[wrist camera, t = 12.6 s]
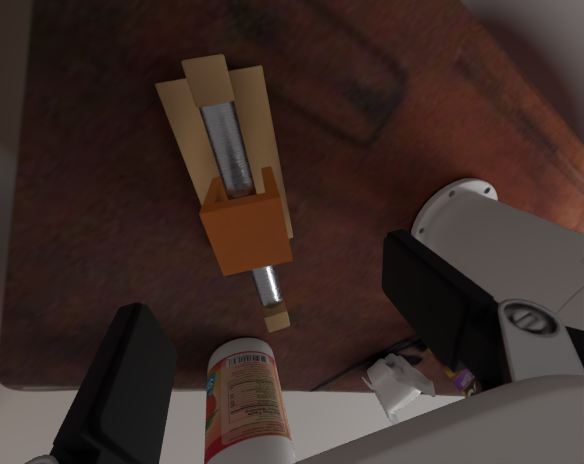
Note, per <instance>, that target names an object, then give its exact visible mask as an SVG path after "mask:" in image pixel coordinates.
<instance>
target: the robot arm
mask: <svg viewBox="0 0 584 464" xmlns="http://www.w3.org/2000/svg"><path fill="white" fill-rule="evenodd" d="M382 289H383V291H384V293H385V295H386V296H387V297H388V298H389V300H390V301H391V302H392V303H393V305H394V306H395V307H396V308H397V310H398V311H399V312H400V313H401V315H402V316H403V317H404V318H405V320H406V321H407V322H408V323H409V325H410V326H411V327H412V328H413V330H414V331H415V332H416V333H417V335H418V336H419V337H420V338H421V339H422V341H423V342H424V343H425V344H426V346H427V347H428V348H429V349H430V351H431V352H432V353H433V354H434V356H435V357H436V358H437V359H438V361H439V362H440V363H441V364H442V365H444V366H448V367H449V368H450V370H451V371H452V372H453V373H457V372H460V371H462V370H465V369H468V370H469V371H470V372H471V374H472V375H473V376H474V381H475V391H476V395H473V396H470V397H468V398H465V399H462V400H459V401H456V402H453V403H451V404H448V405H446V406H443V407H440V408H438V409H435V410H432V411H430V412H427V413H424V414H422V415H419V416H416V417H414V418H411V419H409V420H406V421H403V422H400V423H398V424H395V425H393V426H390V427H387V428H385V429H382V430H379V431H377V432H374V433H372V434H369V435H367V436H364V437H361V438H358V439H356V440H353V441H351V442H348V443H345V444H343V445H340V446H337V447H335V448H332V449H330V450H327V451H324V452H322V453H320V454H317V455H314V456H311V457H309V458H307V459H304V460H301V461H298V462H296V463H293V464H584V235H583V234H581V233H578V232H576V231H573V230H570V229H568V228H565V227H563V226H560V225H558V224H555V223H553V222H550V221H547V220H545V219H542V218H540V217H537V216H535V215H532V214H530V213H527V212H524V211H522V210H519V209H517V208H514V207H512V206H509V205H507V204H504V203H501V202H499V201H498V198H497V194H496V191H495V189H494V188H493V186H492V185H490V184H489V183H488V182H485V181H482V180H480V179H475V178H466V179H461V180H458V181H455V182H453V183H451V184H449V185H447V186H445V187H444V188H442V189H441V190H439V191H438V192H437V193H436V194H435V195H433V196H432V197H431V198H430V199H429V200H428V202H427V203H426V204H425V205H424V206H423V208H422V209H421V211H420V212H419V213H418V215H417V217H416V219H415V221H414V224H413V227H412V231H411V234H410V233H408V232H407V231H406V230H404V229H399V230H396V231H392V232H389V233H388V234H387V237H385V238H384V244H383V268H382ZM176 363H177V351H176V348H175V347H174V345H173V344H172V342H171V341H170V339H169V338H168V336H167V335H166V333H165V332H164V330H163V329H162V327H161V326H160V324H159V323H158V321H157V320H156V318H155V316H154V315H153V313H152V312H151V310H150V309H149V307H148V306H147V305H142V304H141V303H139V302H137V303H133V304H129V305H126V306H122V307H120V308H119V309H118V311H117V313H116V315H115V317H114V319H113V321H112V323H111V325H110V327H109V329H108V331H107V333H106V335H105V337H104V339H103V341H102V344H101V346H100V348H99V350H98V352H97V354H96V356H95V358H94V360H93V362H92V364H91V366H90V368H89V370H88V372H87V374H86V376H85V378H84V380H83V382H82V384H81V386H80V389H79V391H78V393H77V395H76V397H75V399H74V401H73V403H72V405H71V407H70V409H69V411H68V413H67V415H66V417H65V420H64V421H63V424H62V425H61V427H60V429H59V432H58V434H57V436H56V438H55V440H54V442H53V445H54V446H53V448H52V450H51V452H50V454H49V455H43V456H39V457H36V458H34V459H32V460H30V461H28V462H26V463H25V464H159V459H160V454H161V448H162V443H163V437H164V431H165V425H166V420H167V414H168V408H169V402H170V396H171V391H172V386H173V380H174V374H175V368H176Z"/></svg>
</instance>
